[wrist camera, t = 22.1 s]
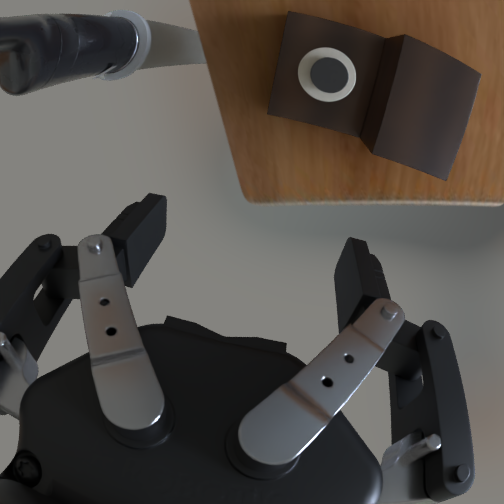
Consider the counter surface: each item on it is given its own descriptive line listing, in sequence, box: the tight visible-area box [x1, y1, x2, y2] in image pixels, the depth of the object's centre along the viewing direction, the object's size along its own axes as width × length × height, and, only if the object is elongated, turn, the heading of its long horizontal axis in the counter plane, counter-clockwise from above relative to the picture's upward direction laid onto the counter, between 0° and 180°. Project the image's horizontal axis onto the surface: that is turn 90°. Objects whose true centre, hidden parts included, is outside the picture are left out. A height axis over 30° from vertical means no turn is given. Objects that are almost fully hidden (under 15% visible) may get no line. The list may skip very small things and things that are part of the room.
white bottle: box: [298, 47, 356, 102], centre depth 26 cm, size 5×5×12 cm
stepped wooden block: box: [267, 11, 481, 181], centre depth 29 cm, size 22×14×10 cm, turn 80°
